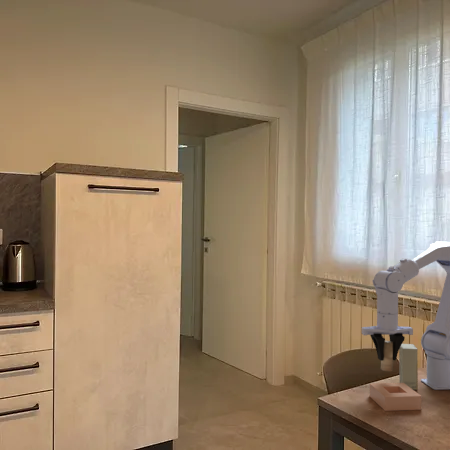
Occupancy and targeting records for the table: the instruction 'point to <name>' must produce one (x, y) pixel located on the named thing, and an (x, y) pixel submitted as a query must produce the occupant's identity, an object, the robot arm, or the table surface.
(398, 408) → the socket block
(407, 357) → the skincare box
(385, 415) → the table surface
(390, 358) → the beech peg
